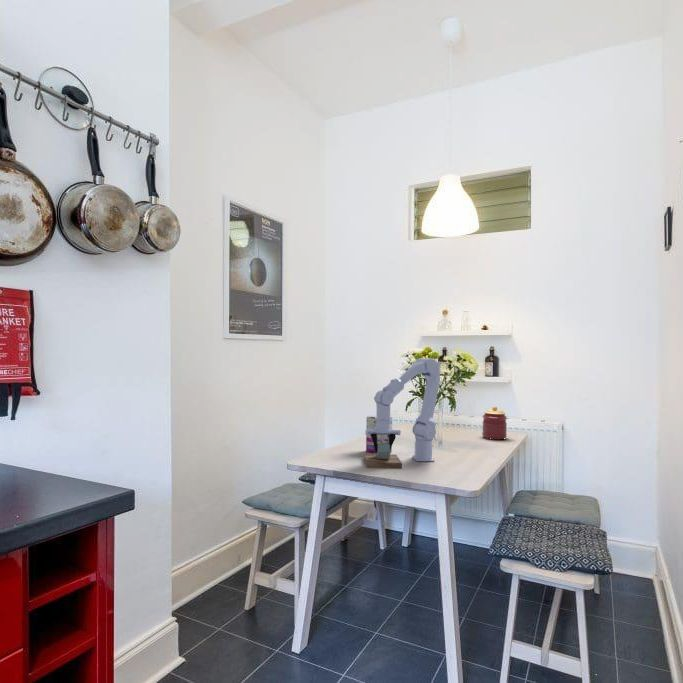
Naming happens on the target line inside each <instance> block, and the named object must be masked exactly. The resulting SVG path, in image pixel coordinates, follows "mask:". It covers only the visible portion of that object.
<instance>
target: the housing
mask: <svg viewBox="0 0 683 683" xmlns="http://www.w3.org/2000/svg"><path fill="white" fill-rule="evenodd" d="M374 454H375V455H376V457H377V459H390V454H391V453H390V444H389V443H388V441H383V440H381V441H377V453H374Z"/></svg>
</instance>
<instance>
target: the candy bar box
mask: <svg viewBox="0 0 683 683" xmlns="http://www.w3.org/2000/svg"><path fill="white" fill-rule="evenodd" d="M366 429H376V415H369V416H368V415H367V416H366ZM390 429H391V430H393V417H391V416H390ZM365 435H366V434H365ZM365 438H366V439H365V440H366V441H365V444H366V445H365V452H368V453H372V454H376V453H375V448H374V443H373V440H372V438H371V435H366V436H365ZM381 440H383V441H388V443H389V438H388V435H377V441H381ZM392 447H393V446H392ZM392 447H391V452H390V454H391V453H392V451H393V450H392Z"/></svg>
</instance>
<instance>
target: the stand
mask: <svg viewBox="0 0 683 683" xmlns="http://www.w3.org/2000/svg"><path fill="white" fill-rule="evenodd" d="M375 454H376V453H364V454H363V460H364V462H365V464H366V467H367V468H369V469H370V468H371V469H374V468H375V469H376V468H377V469H402V468H403V462H402V461H401V459H400V458H399V457H398V455H397V454H391V453H390V459H377V457H376V455H375Z"/></svg>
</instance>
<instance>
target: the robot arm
mask: <svg viewBox="0 0 683 683" xmlns="http://www.w3.org/2000/svg"><path fill="white" fill-rule="evenodd" d="M440 367H441V365H440V362H438V361H437V359H435V358H424V357H419V358H417V359H416V360H414V361H413V363H412V364H411V365H410V367H409V368H407V370H406V371H405V372H403V374H402V375H400V376H399V378H393V379H390V382H389V383H388V384H387V385H386V386H384V387H383V388H382V390H378V391H377V392H376V393H375V396H374V397H373V399H374V403H376V404H375V405H376V414H375V416H376V429H367V428H366V429H365V432H364V433H365V435H371V438H372V440H373V443H374V448H375V453H374V454H376V453H377V435H388V438H389V444H390V452H391V447H393V444H394V442H395V440H396V437H397V436H401V429H392V430H391V429H390V417H391V404H393V402H394V398H395V397H396V396H397V395H399V394H400V393H402V391H403V390H404V389H405V385H406V384H407V383H408V382H409V381H410V380H412V379H413V378H415V376H417V375H419V374H420V375H422V376H423V377H424V379H425V380H426V384H425V388H424V389H425V390H424V395H423V400H422V403H421V404H422V405H421V410H420V414H419V416H418V417H417V418H416V420H415V423H414V424H413V426H412V433H413V435H414V439H415V441H414V455H412V458H413V459H414V461H416V462H435V459H434V458H433V441H434V438H435V437H436V434H437V430H436V424H437V423H436V422H435V420H434V413H435V408H436V402H437V397H438V392H439V386H440V383H441V382H440V381H441V375H440ZM391 453H392V452H391Z"/></svg>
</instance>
